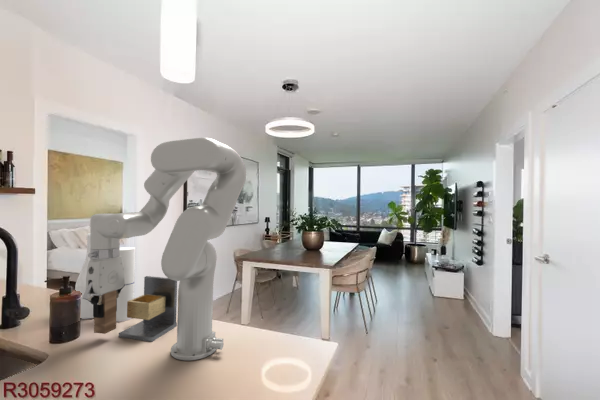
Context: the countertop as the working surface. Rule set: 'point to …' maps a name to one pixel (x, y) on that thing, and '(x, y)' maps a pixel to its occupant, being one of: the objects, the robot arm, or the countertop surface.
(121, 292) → the cylindrical container
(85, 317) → the wine bottle
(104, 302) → the rail post
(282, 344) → the countertop surface
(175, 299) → the cup bracket
